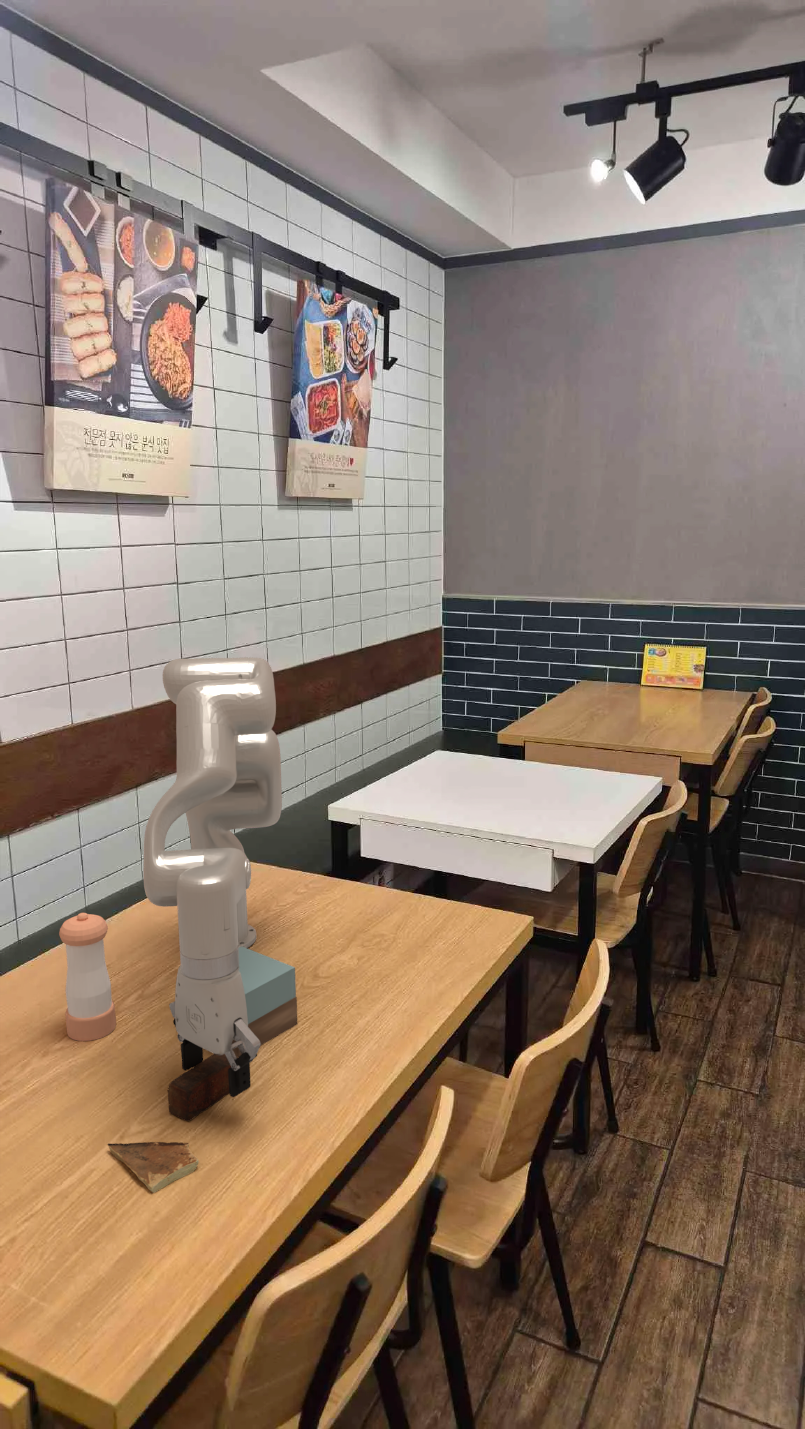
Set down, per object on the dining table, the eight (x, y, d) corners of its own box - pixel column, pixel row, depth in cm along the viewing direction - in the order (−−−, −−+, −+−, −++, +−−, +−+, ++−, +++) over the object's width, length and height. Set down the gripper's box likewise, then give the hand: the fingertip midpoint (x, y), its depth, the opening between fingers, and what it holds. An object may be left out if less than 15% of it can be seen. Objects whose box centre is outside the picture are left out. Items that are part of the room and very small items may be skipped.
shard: (107, 1153, 117) (106, 1141, 116) (162, 1127, 122) (162, 1115, 122) (150, 1198, 109) (149, 1185, 109) (206, 1168, 114) (206, 1155, 114)
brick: (189, 1124, 122) (188, 1092, 121) (168, 1114, 124) (166, 1082, 123) (244, 1084, 131) (243, 1054, 130) (223, 1075, 133) (222, 1045, 132)
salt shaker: (125, 1020, 147) (117, 907, 143) (96, 1044, 140) (87, 926, 136) (87, 1013, 149) (77, 901, 146) (56, 1036, 143) (46, 920, 139)
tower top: (184, 1004, 143) (183, 974, 142) (242, 974, 152) (241, 946, 151) (238, 1029, 136) (237, 998, 135) (295, 996, 145) (295, 967, 144)
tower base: (187, 1032, 144) (185, 1003, 143) (246, 1002, 153) (245, 974, 152) (239, 1060, 137) (237, 1029, 136) (297, 1026, 146) (296, 997, 145)
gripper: (146, 952, 124) (153, 1068, 128) (231, 990, 114) (237, 1116, 117) (191, 933, 130) (197, 1045, 133) (276, 968, 119) (280, 1089, 123)
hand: (215, 1078), depth 125 cm, fingers open, 9 cm apart
